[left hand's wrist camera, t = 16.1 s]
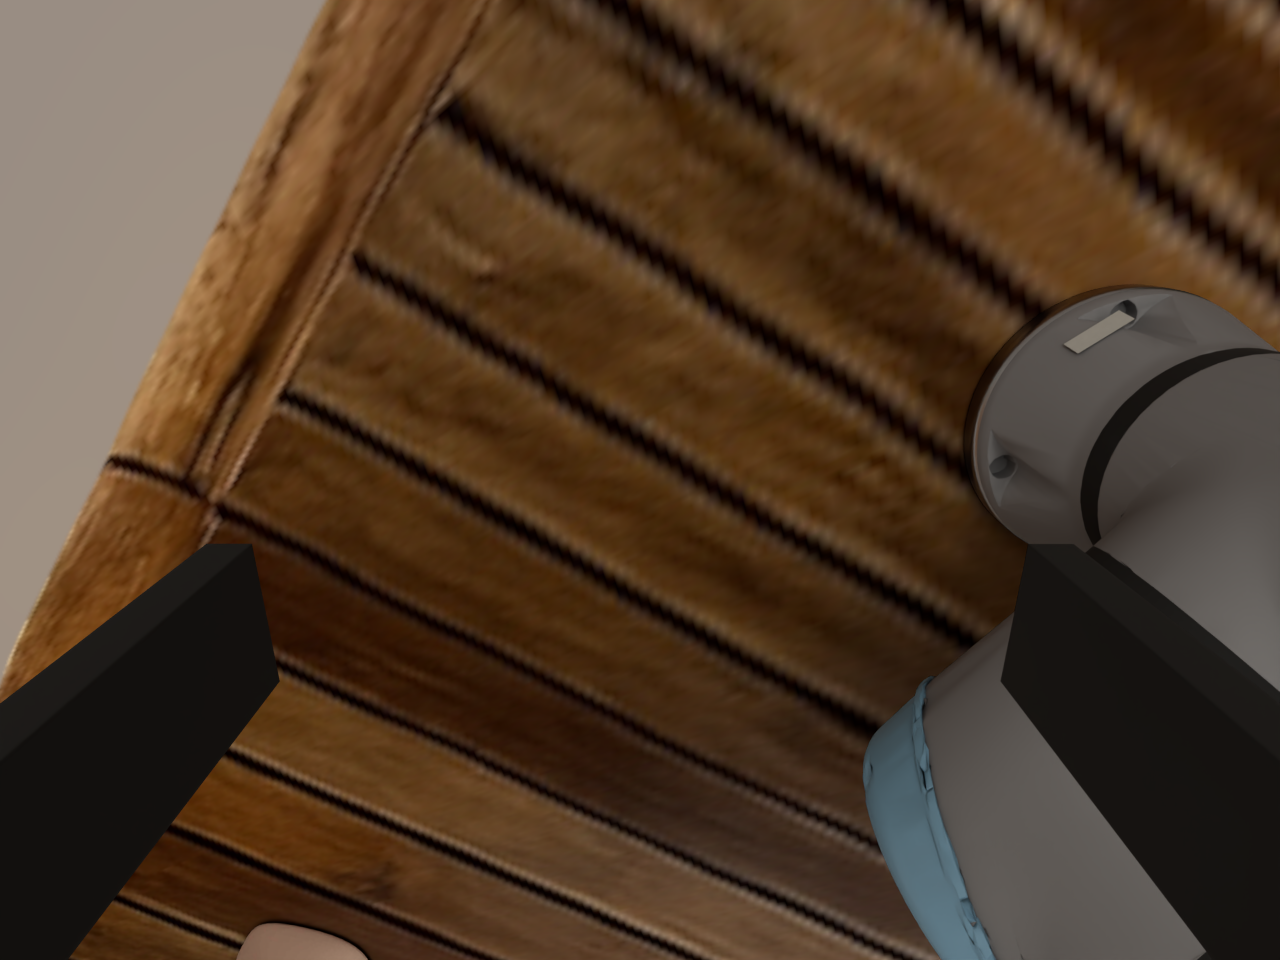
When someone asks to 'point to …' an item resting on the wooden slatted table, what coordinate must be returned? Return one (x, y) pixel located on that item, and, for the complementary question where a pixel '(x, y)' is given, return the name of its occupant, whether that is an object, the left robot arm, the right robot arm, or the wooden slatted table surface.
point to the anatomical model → (295, 944)
